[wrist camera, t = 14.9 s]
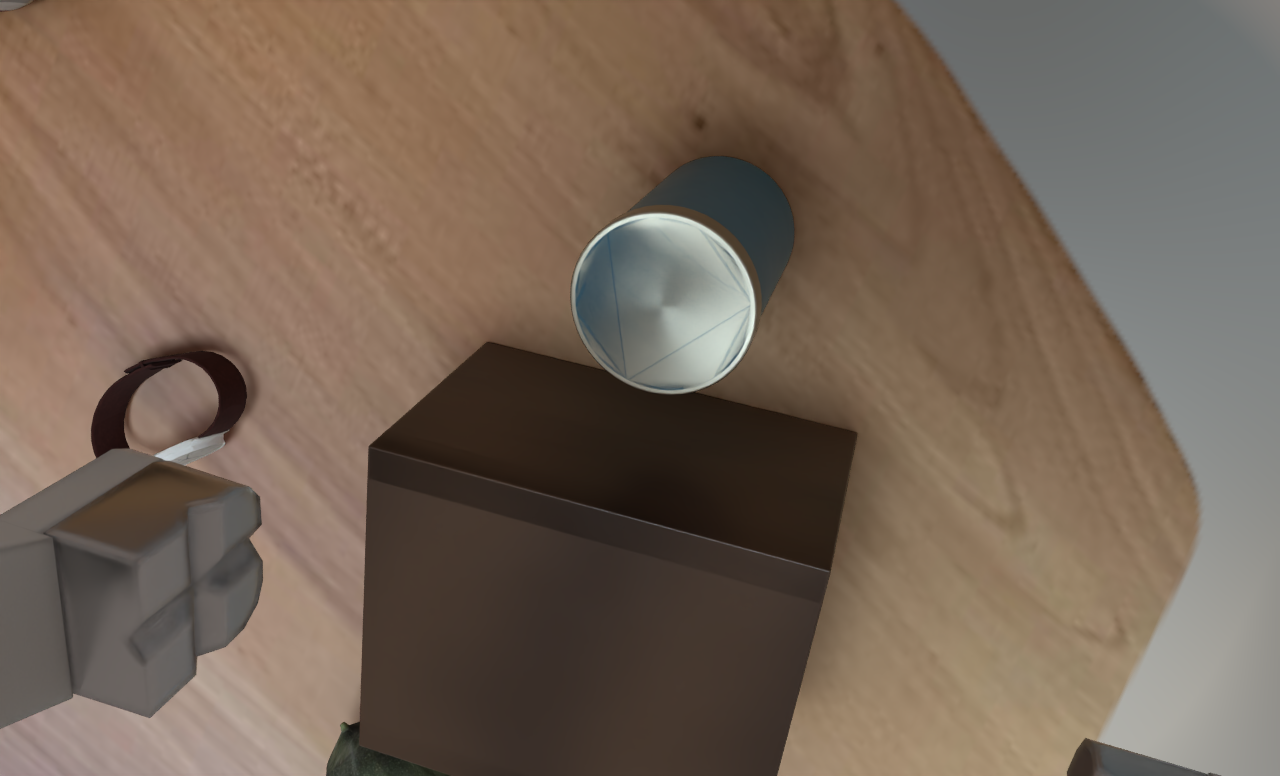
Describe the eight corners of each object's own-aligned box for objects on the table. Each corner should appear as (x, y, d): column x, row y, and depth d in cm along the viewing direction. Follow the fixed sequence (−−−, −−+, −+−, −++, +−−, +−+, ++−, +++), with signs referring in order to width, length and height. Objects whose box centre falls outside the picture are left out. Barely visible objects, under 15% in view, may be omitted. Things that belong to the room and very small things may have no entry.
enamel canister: (812, 170, 34) (774, 234, 27) (780, 319, 36) (737, 415, 29) (657, 138, 35) (580, 192, 28) (635, 286, 37) (559, 371, 30)
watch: (163, 478, 47) (104, 519, 43) (97, 389, 46) (33, 424, 42) (283, 412, 43) (229, 451, 40) (215, 315, 42) (155, 347, 39)
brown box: (858, 432, 37) (830, 570, 29) (789, 695, 42) (751, 874, 34) (486, 341, 40) (368, 445, 32) (465, 599, 45) (358, 745, 37)
